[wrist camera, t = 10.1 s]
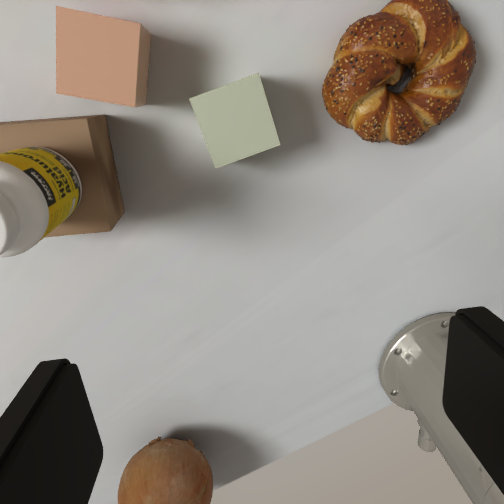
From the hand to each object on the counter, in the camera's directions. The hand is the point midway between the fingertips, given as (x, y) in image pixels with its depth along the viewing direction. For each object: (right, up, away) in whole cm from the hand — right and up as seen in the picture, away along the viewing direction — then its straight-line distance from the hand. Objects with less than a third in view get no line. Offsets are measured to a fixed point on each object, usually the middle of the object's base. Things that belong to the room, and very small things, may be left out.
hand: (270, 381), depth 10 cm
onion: (-10, -19, +35) cm, 41 cm away
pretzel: (+11, +18, +23) cm, 31 cm away
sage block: (-2, +14, +22) cm, 26 cm away
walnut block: (-16, +10, +22) cm, 29 cm away
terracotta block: (-11, +18, +20) cm, 29 cm away
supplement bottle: (-15, +8, +18) cm, 25 cm away
